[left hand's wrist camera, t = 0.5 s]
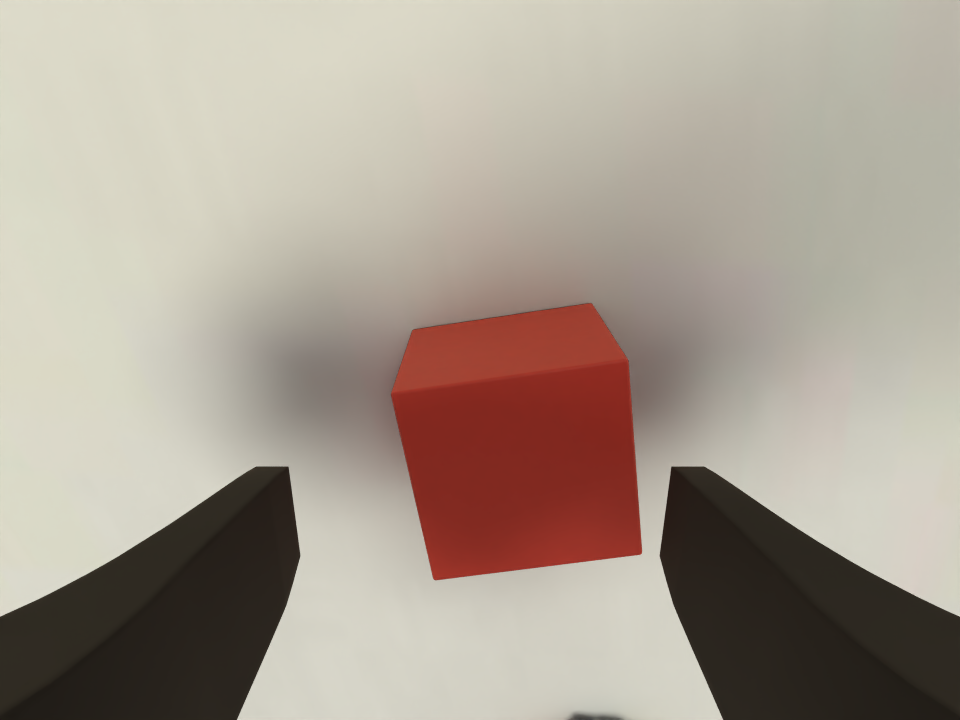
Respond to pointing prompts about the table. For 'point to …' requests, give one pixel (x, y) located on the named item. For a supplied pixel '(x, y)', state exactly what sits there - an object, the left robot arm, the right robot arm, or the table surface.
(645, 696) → the table surface
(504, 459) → the brick
